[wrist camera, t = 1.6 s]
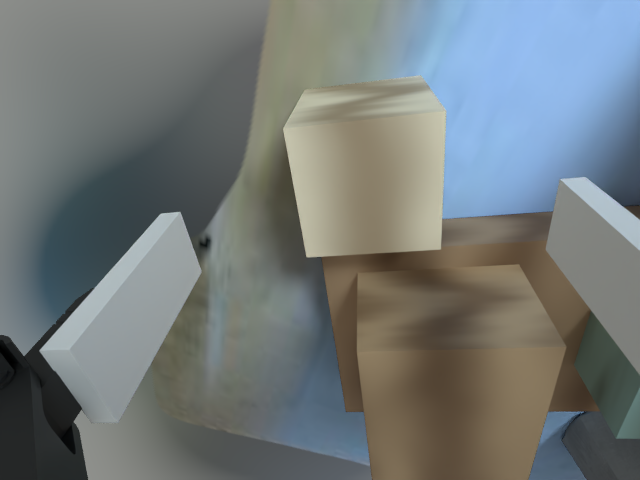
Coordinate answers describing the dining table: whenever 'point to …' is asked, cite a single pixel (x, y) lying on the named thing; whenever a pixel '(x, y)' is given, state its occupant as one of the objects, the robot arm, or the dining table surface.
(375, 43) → the dining table surface
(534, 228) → the base
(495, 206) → the dining table surface
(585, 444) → the coffeepot
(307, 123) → the oak block
